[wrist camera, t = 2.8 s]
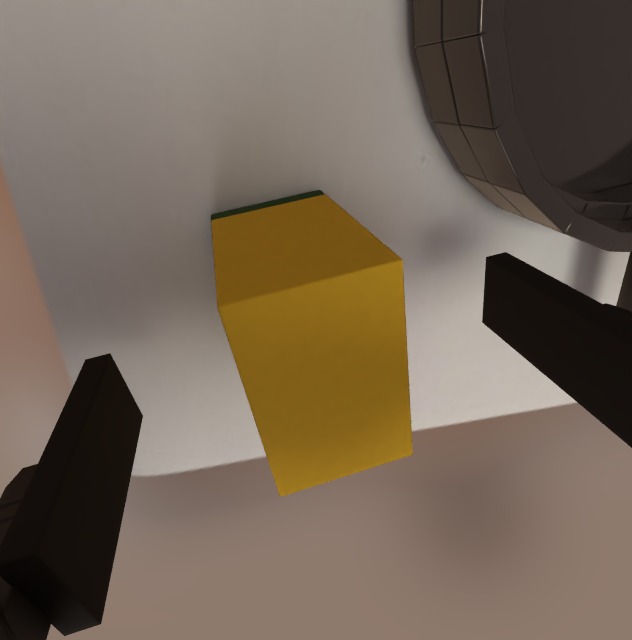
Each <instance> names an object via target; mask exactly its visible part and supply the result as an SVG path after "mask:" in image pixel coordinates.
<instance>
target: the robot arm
mask: <svg viewBox="0 0 632 640" xmlns="http://www.w3.org/2000/svg"><path fill="white" fill-rule="evenodd" d="M482 322H483V323H484V324H485V325H486V326H487V327H489V328H490V329H491V330H492V331H493V332H494V333H496V334H497V335H498V336H499V337H500V338H502V339H503V340H504V341H505V342H506V343H508V344H509V345H510V346H511V347H512V348H514V349H515V350H516V351H517V352H518V353H519V354H521V355H522V356H523V357H524V358H525V359H527V360H528V361H529V362H530V363H531V364H533V365H534V366H535V367H536V368H537V369H539V370H540V371H541V372H542V373H543V374H544V375H546V376H547V377H548V378H549V379H550V380H552V381H553V382H554V383H555V384H556V385H558V386H559V387H560V388H561V389H562V390H564V391H565V392H566V393H567V394H568V395H570V396H571V397H572V398H573V399H574V400H575V401H577V402H578V403H579V404H580V405H581V406H583V407H584V408H585V409H586V410H587V411H589V412H590V413H591V414H592V415H593V416H595V417H596V418H597V419H598V420H599V421H600V422H602V423H603V424H604V425H605V426H606V427H608V428H609V429H610V430H611V431H612V432H614V433H615V434H616V435H617V436H618V437H620V438H621V439H622V440H623V441H624V442H626V443H627V444H628V445H629V446H630V447H631V448H632V312H631V311H629V310H627V309H624V308H620V307H617V306H613V305H610V304H601V303H599V302H597V301H596V300H594V299H592V298H590V297H588V296H586V295H584V294H583V293H581V292H579V291H577V290H575V289H573V288H571V287H570V286H568V285H566V284H564V283H562V282H560V281H558V280H557V279H555V278H553V277H551V276H549V275H547V274H545V273H544V272H542V271H540V270H538V269H536V268H534V267H532V266H531V265H529V264H527V263H525V262H523V261H521V260H519V259H518V258H516V257H514V256H512V255H510V254H508V253H506V252H505V253H501V254H497V255H493V256H489V257H486V270H485V287H484V303H483V320H482ZM142 418H143V415H142V413H141V411H140V409H139V408H138V406H137V404H136V402H135V400H134V398H133V396H132V394H131V392H130V390H129V388H128V386H127V385H126V383H125V381H124V379H123V377H122V375H121V373H120V371H119V369H118V367H117V365H116V364H115V362H114V360H113V358H112V356H111V354H106V355H102V356H98V357H94V358H90V359H86V360H85V362H84V364H83V366H82V369H81V371H80V373H79V375H78V377H77V380H76V382H75V384H74V386H73V388H72V391H71V393H70V395H69V397H68V399H67V402H66V404H65V406H64V408H63V410H62V412H61V415H60V417H59V419H58V421H57V423H56V426H55V428H54V430H53V432H52V434H51V437H50V439H49V441H48V443H47V445H46V447H45V450H44V452H43V454H42V456H41V458H40V461H39V463H38V464H36V465H33V466H29V467H25V468H23V469H22V470H21V471H20V472H19V473H18V474H17V475H16V477H15V478H14V479H13V480H12V481H11V482H10V484H8V485H7V487H6V488H5V490H4V492H3V494H2V496H1V498H0V640H46V639H47V635H48V632H49V628H50V625H51V624H52V625H53V626H54V627H55V628H56V629H57V630H58V631H60V632H61V633H62V634H63V635H64V636H66V635H69V634H72V633H75V632H78V631H81V630H84V629H87V628H90V627H93V626H96V625H99V624H101V621H102V616H103V612H104V607H105V602H106V597H107V592H108V587H109V581H110V576H111V572H112V567H113V562H114V557H115V551H116V547H117V542H118V537H119V532H120V527H121V521H122V517H123V512H124V507H125V502H126V497H127V492H128V487H129V482H130V477H131V472H132V467H133V462H134V457H135V452H136V447H137V442H138V438H139V433H140V428H141V423H142Z"/></svg>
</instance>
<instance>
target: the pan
mask: <svg viewBox="0 0 632 640" xmlns="http://www.w3.org/2000/svg"><path fill="white" fill-rule="evenodd" d="M413 17H414V45H415V47H416V48H415V52H416V56H417V60H418V64H419V69H420V73H421V77H422V81H423V85H424V89H425V93H426V97H427V101H428V105H429V109H430V113H431V117H432V120H433V123H434V125H435V127H436V128H437V130H438V132H439V134H440V136H441V137H442V139H443V141H444V143H445V145H446V146H447V148H448V150H449V152H450V154H451V155H452V157H453V159H454V161H455V163H456V164H457V166H458V168H459V170H460V172H461V173H462V175H463V176H464V177H465V178H467V179H468V180H469V181H470V182H471V183H472V184H473V185H474V186H475V187H476V188H477V189H479V190H480V191H481V192H482V193H483V194H484V195H485V196H486V197H487V198H488V199H489V200H491V201H492V202H493V203H494V204H495V205H496V206H497V207H499V208H501V209H504V210H506V211H509V212H511V213H514V214H516V215H518V216H521V217H523V218H526V219H528V220H531V221H533V222H536V223H538V224H541V225H543V226H546V227H548V228H551V229H553V230H556V231H558V232H561V233H563V234H566V235H568V236H571V237H573V238H576V239H578V240H581V241H583V242H586V243H588V244H591V245H594V246H596V247H599V248H601V249H604V250H606V251H611V252H632V0H413Z"/></svg>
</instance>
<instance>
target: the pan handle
mask: <svg viewBox="0 0 632 640" xmlns="http://www.w3.org/2000/svg"><path fill="white" fill-rule="evenodd" d="M616 306H617V307H620V308H624V309H627V310H629V311H631V312H632V252H630V255H629V259H628V263H627V267H626V271H625V275H624V278H623V282H622V286H621V290H620V294H619V298H618V301H617V305H616Z"/></svg>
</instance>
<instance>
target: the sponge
mask: <svg viewBox="0 0 632 640" xmlns="http://www.w3.org/2000/svg"><path fill="white" fill-rule="evenodd" d="M211 225H212V239H213V253H214V267H215V280H216V294H217V308H218V311H219V314H220V317H221V320H222V323H223V326H224V329H225V332H226V335H227V338H228V341H229V344H230V347H231V350H232V353H233V356H234V359H235V362H236V365H237V368H238V371H239V374H240V377H241V380H242V383H243V386H244V389H245V392H246V395H247V398H248V401H249V404H250V407H251V410H252V413H253V416H254V419H255V423H256V426H257V429H258V432H259V435H260V438H261V441H262V444H263V447H264V450H265V453H266V456H267V458H268V461H269V465H270V468H271V471H272V474H273V477H274V480H275V483H276V486H277V489H278V492H279V495H280V496H285V495H288V494H291V493H294V492H297V491H300V490H303V489H306V488H310V487H313V486H316V485H319V484H322V483H325V482H328V481H332V480H334V479H338V478H341V477H344V476H347V475H350V474H353V473H356V472H360V471H363V470H366V469H369V468H372V467H375V466H378V465H382V464H385V463H388V462H391V461H394V460H397V459H400V458H403V457H407V456H409V455H412V454H413V451H412V432H411V413H410V394H409V375H408V356H407V336H406V317H405V298H404V279H403V260H402V259H401V258H400V257H399V256H398V255H396V254H395V253H394V252H393V251H392V250H391V249H389V248H388V247H387V246H386V245H385V244H383V243H382V242H381V241H380V240H379V239H378V238H376V237H375V236H374V235H373V234H372V233H371V232H369V231H368V230H367V229H366V228H365V227H363V226H362V225H361V224H360V223H359V222H358V221H356V220H355V219H354V218H353V217H352V216H351V215H349V214H348V213H347V212H346V211H345V210H343V209H342V208H341V207H340V206H339V205H338V204H336V203H335V202H334V201H333V200H332V199H331V198H329V197H328V196H327V195H326V194H324V193H323V192H322V191H321V190H318V191H314V192H309V193H305V194H300V195H296V196H292V197H287V198H283V199H278V200H274V201H270V202H265V203H261V204H256V205H252V206H248V207H243V208H239V209H234V210H230V211H225V212H221V213H217V214H212V215H211Z"/></svg>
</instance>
